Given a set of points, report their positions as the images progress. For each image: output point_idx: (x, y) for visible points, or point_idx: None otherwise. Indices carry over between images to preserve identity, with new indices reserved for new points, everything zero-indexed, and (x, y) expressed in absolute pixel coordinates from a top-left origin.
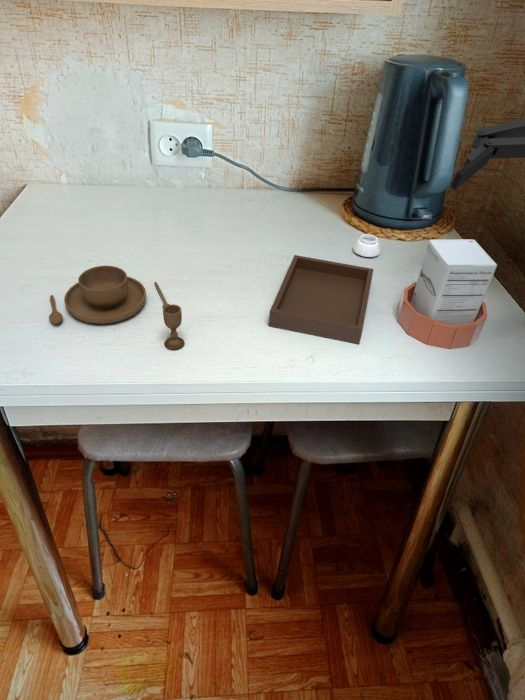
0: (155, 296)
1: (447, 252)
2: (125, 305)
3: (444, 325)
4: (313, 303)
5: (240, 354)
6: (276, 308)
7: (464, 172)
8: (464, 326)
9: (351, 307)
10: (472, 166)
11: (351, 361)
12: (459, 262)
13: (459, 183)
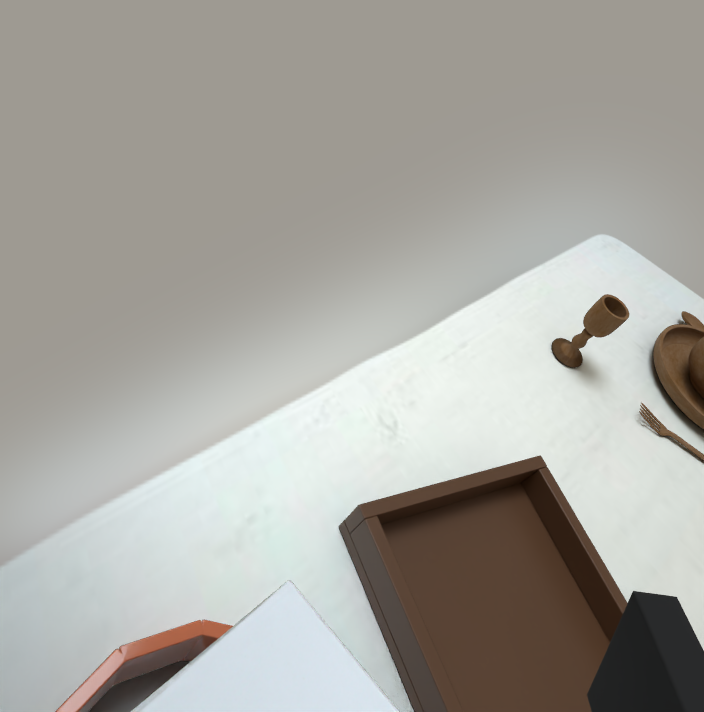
0: (695, 447)
1: (334, 689)
2: (687, 393)
3: (164, 632)
4: (516, 601)
5: (484, 377)
6: (540, 472)
7: (652, 625)
8: (93, 674)
9: (441, 654)
10: (686, 708)
11: (320, 458)
12: (257, 632)
13: (609, 689)
